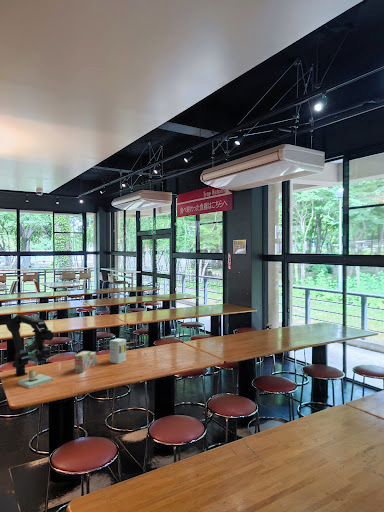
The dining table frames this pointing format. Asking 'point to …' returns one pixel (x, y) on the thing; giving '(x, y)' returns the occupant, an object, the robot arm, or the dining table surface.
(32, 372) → the peg
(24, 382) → the board
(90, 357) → the beige multicoloured rectangular block
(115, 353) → the supplement box
